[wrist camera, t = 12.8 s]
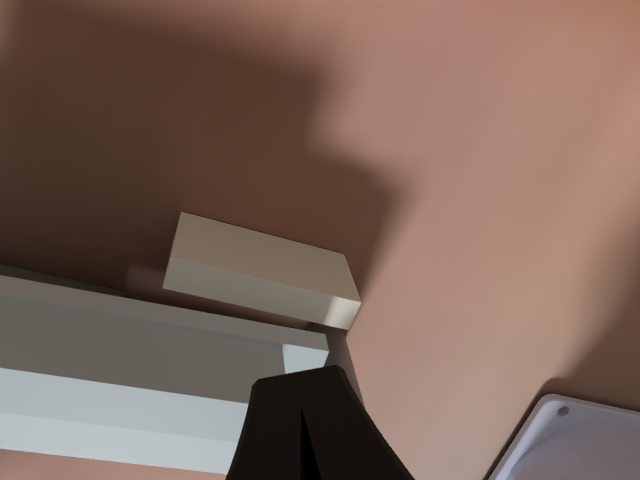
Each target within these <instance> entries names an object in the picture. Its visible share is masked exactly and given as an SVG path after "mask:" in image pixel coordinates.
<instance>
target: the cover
mask: <svg viewBox="0 0 640 480" xmlns="http://www.w3.org/2000/svg"><path fill="white" fill-rule="evenodd" d="M328 353H329V349H328V344H327V340H326V336H325V334H321V333H316V332H310V331H305V330H299V329H294V328H288V327H283V326H277V325H272V324H266V323H261V322H255V321H250V320H244V319H239V318H233V317H228V316H222V315H217V314H211V313H206V312H200V311H195V310H189V309H184V308H178V307H173V306H167V305H162V304H156V303H151V302H145V301H140V300H134V299H129V298H123V297H118V296H112V295H107V294H101V293H96V292H90V291H85V290H79V289H74V288H68V287H63V286H57V285H52V284H46V283H41V282H35V281H30V280H24V279H19V278H13V277H8V276H2V275H0V449H9V450H18V451H27V452H36V453H45V454H53V455H62V456H71V457H80V458H89V459H97V460H106V461H115V462H124V463H133V464H142V465H150V466H159V467H168V468H177V469H186V470H194V471H203V472H212V473H221V474H228V471H229V468H230V465H231V462H232V460H233V457H234V454H235V451H236V447H237V444H238V441H239V438H240V434H241V431H242V427H243V424H244V420H245V416H246V413H247V408H248V404H249V399H250V394H251V388H252V385H253V384H254V383H255V382H256V381H257V379H260V378H266V377H271V376H277V375H282V374H287V373H293V372H298V371H304V370H309V369H314V368H320V367H323V366H324V364H325V361H326V358H327V356H328Z"/></svg>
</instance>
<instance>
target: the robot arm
mask: <svg viewBox="0 0 640 480" xmlns="http://www.w3.org/2000/svg"><path fill="white" fill-rule="evenodd" d="M561 407H562V408H561ZM225 480H415V479H414V478H413V477H412V475H411V474H410V473H409V471H408V470H407V469H406V467H405V466H404V464H403V463H402V462H401V460H400V459H399V458H398V456H397V455H396V454H395V452H394V451H393V450H392V448H391V447H390V446H389V444H388V443H387V442H386V440H385V439H384V437H383V436H382V434H381V433H380V431H379V430H378V429H377V427H376V426H375V424H374V422H373V421H372V419H371V418H370V416H369V415H368V413H367V412H366V410H365V408H364V407H363V405H362V403H361V402H360V400H359V398H358V397H357V395H356V393H355V391H354V389H353V388H352V386H351V384H350V382H349V380H348V377H347V375H346V373H345V370H344V369H343V368H341V367H340V366H338V365H331V366H325V367H320V368H314V369H309V370H304V371H298V372H293V373H287V374H282V375H277V376H271V377H266V378H260V379H257V381H256V382H255V383H254V384H253V385H252V388H251V394H250V399H249V404H248V408H247V413H246V416H245V420H244V424H243V427H242V431H241V434H240V438H239V441H238V444H237V447H236V451H235V454H234V457H233V460H232V462H231V465H230V468H229V471H228V474H227V477H226V479H225ZM488 480H640V412H636V411H631V410H627V409H622V408H618V407H613V406H608V405H604V404H599V403H594V402H590V401H585V400H580V399H576V398H571V397H566V396H562V395H557V394H548V395H545V396H543V397H542V398H541V399H540V400H539V401H538V403H537V404H536V406H535V407H534V409H533V411H532V412H531V414H530V415H529V417H528V418H527V420H526V422H525V423H524V425H523V426H522V428H521V429H520V431H519V432H518V434H517V436H516V437H515V439H514V440H513V442H512V443H511V445H510V446H509V448H508V450H507V451H506V453H505V454H504V456H503V457H502V459H501V461H500V462H499V464H498V465H497V467H496V468H495V470H494V471H493V473H492V475H491V476H490V478H489V479H488Z"/></svg>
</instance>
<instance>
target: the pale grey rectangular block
mask: <svg viewBox="0 0 640 480" xmlns="http://www.w3.org/2000/svg"><path fill="white" fill-rule="evenodd" d="M162 288H163V289H168V290H172V291H177V292H181V293H185V294H190V295H194V296H199V297H203V298H208V299H212V300H217V301H221V302H225V303H230V304H234V305H239V306H243V307H248V308H252V309H257V310H261V311H265V312H270V313H274V314H279V315H283V316H288V317H292V318H297V319H301V320H305V321H310V322H314V323H315V324H313V325H311V326H310V327H308V328H307V329H306V330H305V331H310V332H316V333H321V334H325V336H326V340H327V344H328V349H329V353H328V356H327V358H326V361H325V364H324V366H323V367H325V366H331V365H338V366H340V367H341V368H343V369H344V370H345V373H346V375H347V377H348V380H349V382H350V384H351V386H352V388H353V389H354V391H355V393H356V395H357V397H358V398H359V400H360V402H361V403H362V405H363V407H364V408H365V406H364V402H363V399H362V395H361V392H360V388H359V385H358V381H357V378H356V374H355V370H354V367H353V363H352V360H351V356H350V353H349V349H348V345H347V342H346V338H345V335H344V332H343V330H342V329H345V330H350V327H351V325H352V323H353V321H354V318H355V316H356V314H357V312H358V309H359V307H360V305H361V300H360V297H359V294H358V291H357V289H356V286H355V283H354V280H353V277H352V275H351V272H350V269H349V266H348V263H347V261H346V258H345V255H344V254H341V253H337V252H334V251H330V250H326V249H322V248H318V247H314V246H311V245H307V244H303V243H299V242H295V241H292V240H288V239H284V238H280V237H276V236H273V235H269V234H265V233H261V232H257V231H253V230H250V229H246V228H242V227H238V226H234V225H231V224H227V223H223V222H219V221H215V220H211V219H208V218H204V217H200V216H196V215H192V214H189V213H185V212H181V214H180V217H179V221H178V225H177V228H176V232H175V236H174V239H173V244H172V248H171V252H170V257H169V261H168V265H167V270H166V274H165V278H164V283H163V287H162Z"/></svg>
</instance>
